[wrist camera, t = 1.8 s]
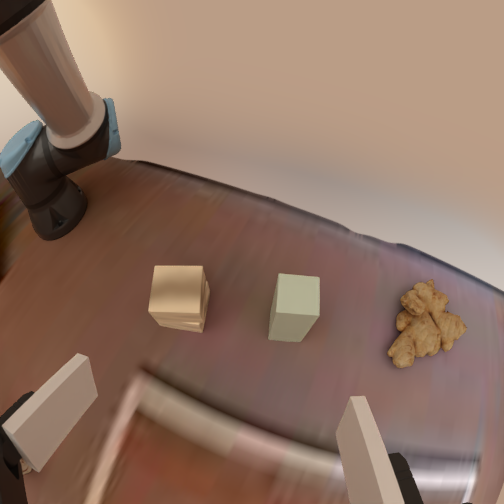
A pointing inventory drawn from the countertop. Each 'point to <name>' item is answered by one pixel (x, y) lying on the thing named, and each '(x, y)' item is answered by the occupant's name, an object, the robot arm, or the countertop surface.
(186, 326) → the beige wooden block
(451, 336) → the ginger root
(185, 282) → the slab upper
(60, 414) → the robot arm
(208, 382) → the countertop surface
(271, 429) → the countertop surface
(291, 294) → the pale green block
